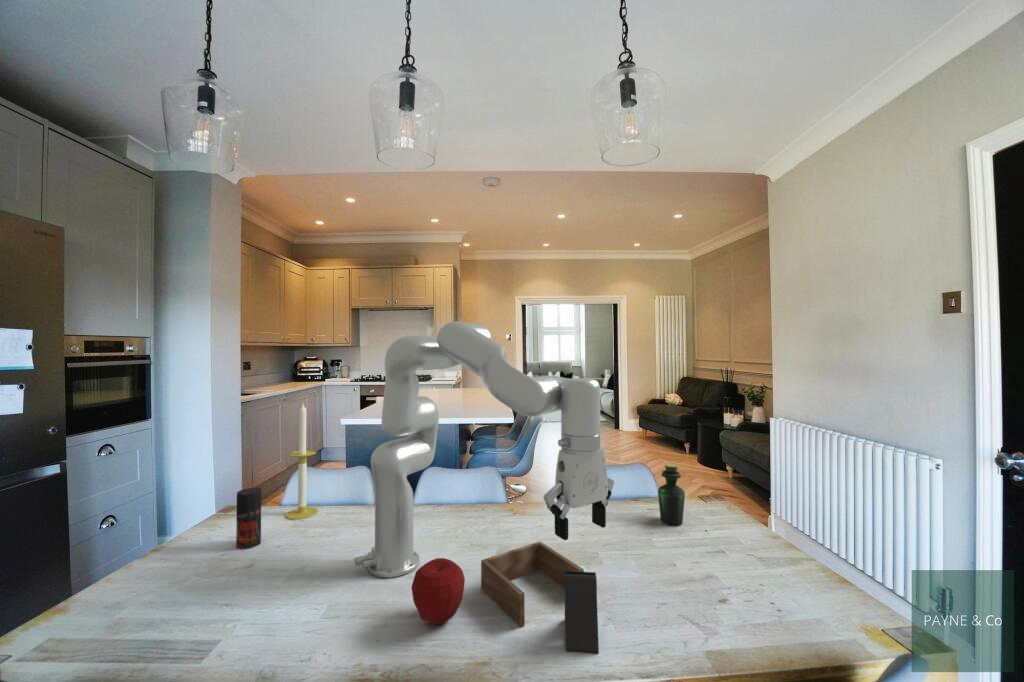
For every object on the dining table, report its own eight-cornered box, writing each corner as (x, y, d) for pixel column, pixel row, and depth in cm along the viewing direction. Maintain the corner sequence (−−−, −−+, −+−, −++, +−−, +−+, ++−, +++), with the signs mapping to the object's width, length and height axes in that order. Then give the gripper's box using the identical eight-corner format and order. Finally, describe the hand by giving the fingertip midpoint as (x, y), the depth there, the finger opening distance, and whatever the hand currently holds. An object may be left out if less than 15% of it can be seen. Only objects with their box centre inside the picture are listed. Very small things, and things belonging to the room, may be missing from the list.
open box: (520, 627, 82) (520, 594, 82) (481, 588, 95) (481, 560, 95) (583, 598, 91) (583, 569, 91) (539, 567, 105) (539, 541, 105)
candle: (290, 509, 143) (290, 400, 143) (321, 506, 145) (322, 399, 146) (281, 520, 133) (282, 404, 134) (315, 517, 135) (315, 403, 136)
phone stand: (598, 654, 75) (598, 587, 75) (565, 651, 75) (565, 585, 76) (594, 621, 84) (594, 561, 84) (564, 619, 84) (564, 560, 85)
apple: (416, 603, 90) (416, 549, 90) (466, 601, 90) (466, 547, 91) (406, 638, 79) (406, 576, 79) (463, 636, 79) (463, 575, 80)
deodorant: (231, 547, 116) (231, 493, 116) (251, 538, 121) (252, 486, 121) (245, 550, 113) (246, 496, 114) (265, 541, 119) (266, 489, 119)
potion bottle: (659, 526, 129) (659, 468, 129) (656, 515, 136) (656, 461, 137) (687, 528, 127) (687, 469, 127) (682, 517, 135) (682, 462, 135)
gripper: (558, 452, 72) (558, 551, 72) (626, 440, 82) (626, 527, 81) (533, 444, 79) (533, 534, 78) (598, 433, 88) (598, 514, 88)
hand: (580, 530), depth 80 cm, fingers open, 9 cm apart
